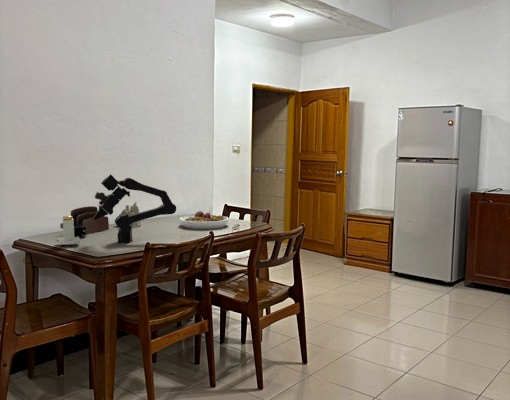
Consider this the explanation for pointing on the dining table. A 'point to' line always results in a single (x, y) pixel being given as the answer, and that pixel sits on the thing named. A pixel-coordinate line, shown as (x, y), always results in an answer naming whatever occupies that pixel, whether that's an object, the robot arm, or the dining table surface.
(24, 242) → the dining table surface
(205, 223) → the bowl
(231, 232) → the dining table surface
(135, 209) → the ceramic cottage
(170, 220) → the dining table surface
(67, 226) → the brushed metal block
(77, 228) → the end cap
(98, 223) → the letter holder
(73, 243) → the gray rectangular block
